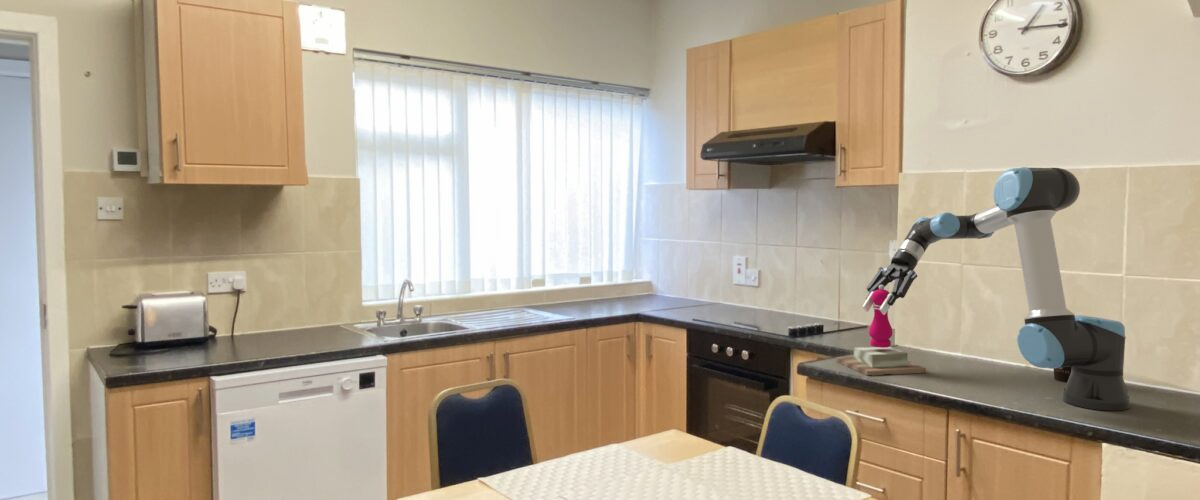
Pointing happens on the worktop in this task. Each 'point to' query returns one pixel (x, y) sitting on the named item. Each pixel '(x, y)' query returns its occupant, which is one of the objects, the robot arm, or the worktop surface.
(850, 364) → the base
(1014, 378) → the worktop surface
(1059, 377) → the coffee mug
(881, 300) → the pepper mill
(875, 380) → the worktop surface
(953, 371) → the worktop surface
